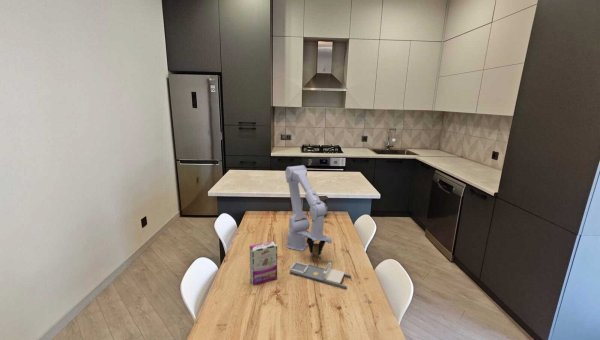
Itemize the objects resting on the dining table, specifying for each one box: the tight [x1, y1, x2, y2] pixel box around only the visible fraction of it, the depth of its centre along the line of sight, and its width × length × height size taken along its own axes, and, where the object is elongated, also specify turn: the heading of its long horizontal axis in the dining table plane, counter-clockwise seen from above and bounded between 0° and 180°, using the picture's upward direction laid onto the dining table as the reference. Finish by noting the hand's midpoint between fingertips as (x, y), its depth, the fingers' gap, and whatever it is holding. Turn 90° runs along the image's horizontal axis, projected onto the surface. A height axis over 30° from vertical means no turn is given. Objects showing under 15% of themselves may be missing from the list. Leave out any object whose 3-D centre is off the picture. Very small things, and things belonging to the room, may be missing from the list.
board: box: [289, 261, 352, 290], centre depth 127 cm, size 27×9×2 cm, turn 68°
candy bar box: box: [249, 240, 278, 286], centre depth 122 cm, size 11×5×16 cm, turn 117°
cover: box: [323, 262, 346, 285], centre depth 124 cm, size 8×9×4 cm
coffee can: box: [318, 195, 329, 219], centre depth 192 cm, size 10×10×14 cm
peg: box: [311, 242, 320, 259], centre depth 138 cm, size 4×4×6 cm
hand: (315, 253), depth 138 cm, fingers closed on peg, 4 cm apart
